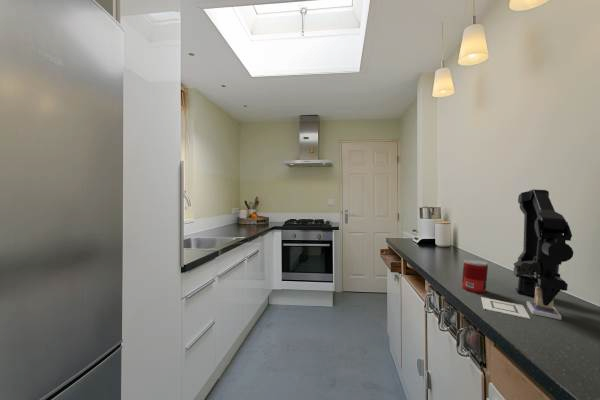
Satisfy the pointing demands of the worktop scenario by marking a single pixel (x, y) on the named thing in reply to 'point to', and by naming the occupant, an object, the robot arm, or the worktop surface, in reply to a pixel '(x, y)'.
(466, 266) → the canned food
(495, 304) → the print card
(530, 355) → the worktop surface
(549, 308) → the stamp
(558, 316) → the ink pad
